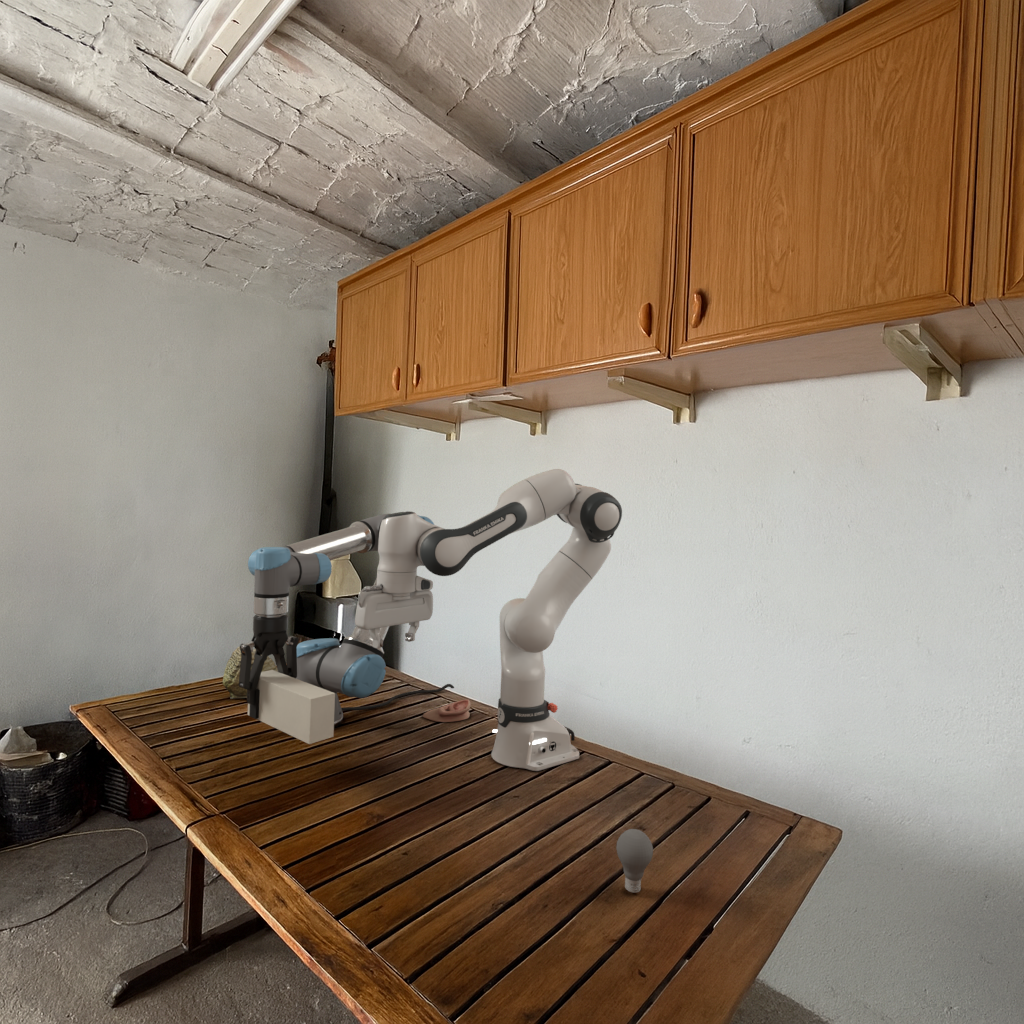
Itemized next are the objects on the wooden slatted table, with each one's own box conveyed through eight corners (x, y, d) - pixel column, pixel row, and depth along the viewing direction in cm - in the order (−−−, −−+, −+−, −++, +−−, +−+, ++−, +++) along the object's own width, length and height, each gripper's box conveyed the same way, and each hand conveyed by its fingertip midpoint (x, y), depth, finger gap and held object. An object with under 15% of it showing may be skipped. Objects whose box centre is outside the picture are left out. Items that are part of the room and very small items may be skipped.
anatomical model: (419, 705, 182) (432, 694, 193) (418, 719, 182) (431, 707, 193) (463, 711, 179) (474, 698, 190) (463, 725, 179) (473, 712, 190)
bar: (247, 714, 147) (248, 674, 146) (270, 708, 151) (272, 669, 151) (309, 744, 131) (311, 699, 131) (333, 736, 136) (335, 693, 136)
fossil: (218, 695, 195) (220, 647, 195) (278, 685, 208) (279, 640, 207) (228, 703, 189) (230, 653, 188) (289, 692, 201) (290, 645, 201)
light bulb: (610, 879, 108) (613, 822, 108) (644, 879, 109) (647, 822, 109) (619, 902, 102) (622, 840, 102) (655, 901, 103) (658, 840, 103)
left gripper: (239, 622, 136) (236, 728, 137) (316, 612, 151) (312, 708, 152) (222, 616, 141) (219, 719, 142) (298, 607, 156) (294, 700, 156)
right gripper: (368, 588, 133) (366, 654, 133) (438, 581, 149) (435, 639, 149) (350, 585, 137) (347, 648, 137) (419, 578, 153) (417, 635, 153)
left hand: (267, 713), depth 147 cm, fingers closed on bar, 6 cm apart
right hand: (394, 644), depth 143 cm, fingers open, 8 cm apart
